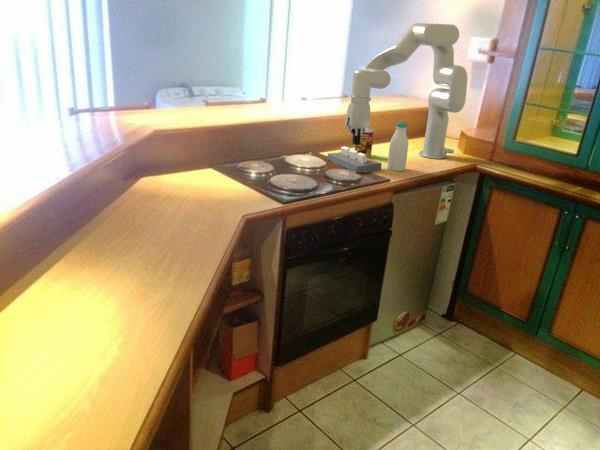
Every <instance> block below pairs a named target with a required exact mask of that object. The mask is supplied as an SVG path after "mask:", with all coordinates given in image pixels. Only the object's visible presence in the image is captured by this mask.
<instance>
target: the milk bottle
mask: <svg viewBox="0 0 600 450" xmlns="http://www.w3.org/2000/svg"><path fill="white" fill-rule="evenodd" d="M407 128H408V123H407V122H404V121H403V122H402V121H397V122H396V123H395V131H394V133H393V135H392V136H391V139H390V142H389V148H388V156H387V157H388V158H387V165H386V168H387V170H390V171H393V172H404V171H405V170H406V166H407V159H408V150H409V139H408V135H407Z"/></svg>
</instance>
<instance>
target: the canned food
mask: <svg viewBox="0 0 600 450" xmlns="http://www.w3.org/2000/svg"><path fill="white" fill-rule="evenodd" d="M373 140H374V130H373V129H369V128H368V130H366V131H364V132H363V133H362V135H361V138H360V145H355V144H354V150H356V151H358V153H360V152H361V153H363V154H366V157H367V158H369V159H370V158H371V157H372V151H373V142H374V141H373Z"/></svg>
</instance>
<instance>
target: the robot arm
mask: <svg viewBox="0 0 600 450" xmlns="http://www.w3.org/2000/svg"><path fill="white" fill-rule="evenodd" d="M459 38H460V30H459V28H458V27H457V25H455V24H450V23H449V24H447V23H445V24H444V23H428V22H427V23H425V22H423V23H422V22H416V23H413V24H411V25H409V27H408V28H407V29H406V30H405V31H404V33H403V34H402V35H401V36H400V37H399V38H398V39H397V40H396V42H394V43H393V45H392V46H391V47H389V48H387V49H385V50H384V51H382V52H381V53H379V54H377V55H375V56H374V57H373V58H372V59H371V60H370V61H369V62H368V63H367V64H366V65H365V67H363V69H355V70H354V72H353V75H352V77H353V78H352V88H351V99H350V103H349V104H348V106H347V110H346V114H345V123H344V125H345V127H346V131H347V132H349V133H350V134H351V135H352V144H353V145H354V146H355V145H360V138H361V135H362V133H363V132H364V131H366V130H368V129H369V127H370V124H371V104H370V102H371V101H372V98H371V89H378V90H383V89H386V88H387V87H388V86H389V85H390V83H391V75H390V73H389V72H387V70H386V69H389V68H390V67H394V66H397V65H400V64H403V63H405V62H407V61H408V60H409V58H410V57H411V56H412V55H413V54H414V53H415V52H416V51H417V50H418V48H419V47H421V46H426V47H427V46H428V47H431V49H432V50H433V72H432V75H433V76H432V77H433V78H432V80H433V82H434V83H435V85H438V86H442V87H437V88H436V87H435V88H434V89H432V90H431V91H430V93H429V94H428V99H427V100H428V101H427V104H428V106H427V107H428V111H427V112H428V116H427V121H426V129H425V135H424V142H423V147H422V148H423V149H422V150H420V151H419V153H418V154H419V156H421V157H424V158H428V159H435V160H437V159H438V160H439V159H444V158H446V157H447V154H454V152H455V150H454V149H452V148H448V147H447V148H446V147H445V144H446V137H447V132H448V126H449V118H450V117H449V113H455V114H456V113H459V112H461V111H462V110H463V109H464V107H465V105H466V98H467V90H468V89H467V88H468V78H469V77H468V73H467V70H466V69H465V68H466V67H465V68H464V66H462V65H458V64H455V62H454V60H455V52H454V51H455V50H454V45H455V44H456V43H457V42H458V41H459ZM443 87H448V88H443ZM448 112H449V113H448Z"/></svg>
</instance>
